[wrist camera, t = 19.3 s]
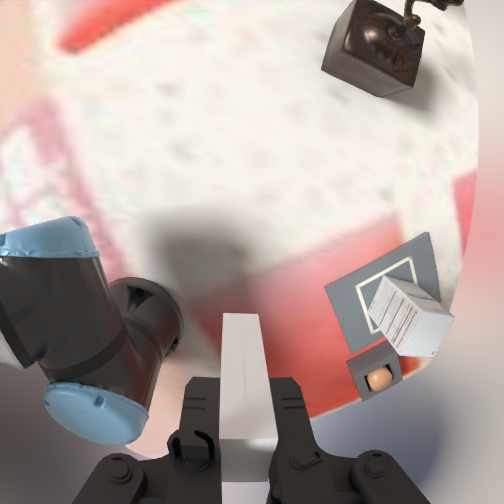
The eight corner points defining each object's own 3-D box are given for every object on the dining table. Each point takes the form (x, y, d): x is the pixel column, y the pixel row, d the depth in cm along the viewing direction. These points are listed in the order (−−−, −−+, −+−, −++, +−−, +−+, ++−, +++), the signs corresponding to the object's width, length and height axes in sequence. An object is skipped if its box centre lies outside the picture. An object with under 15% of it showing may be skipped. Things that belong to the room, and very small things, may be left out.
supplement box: (415, 281, 45) (457, 317, 33) (397, 318, 47) (433, 360, 35) (382, 272, 44) (424, 310, 32) (365, 312, 46) (398, 357, 34)
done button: (366, 380, 51) (373, 394, 48) (361, 367, 50) (369, 380, 46) (385, 370, 51) (393, 383, 47) (382, 356, 50) (390, 369, 46)
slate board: (350, 351, 50) (351, 353, 49) (324, 286, 45) (325, 289, 44) (438, 299, 48) (441, 302, 47) (425, 231, 43) (428, 232, 43)
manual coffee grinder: (385, 102, 37) (464, 83, 20) (318, 70, 35) (372, 23, 18) (403, 27, 32) (470, -10, 15) (342, -4, 30) (392, -62, 13)
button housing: (356, 388, 53) (362, 401, 50) (345, 361, 51) (352, 375, 47) (394, 368, 53) (402, 380, 49) (387, 339, 50) (396, 351, 46)
